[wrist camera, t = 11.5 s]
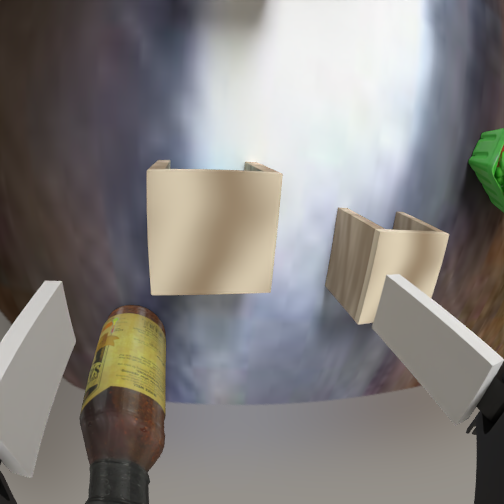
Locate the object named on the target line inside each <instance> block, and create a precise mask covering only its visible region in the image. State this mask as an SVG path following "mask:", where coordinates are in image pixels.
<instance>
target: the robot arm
mask: <svg viewBox="0 0 504 504" xmlns="http://www.w3.org/2000/svg"><path fill="white" fill-rule="evenodd" d="M372 329H373V330H374V331H375V332H376V333H377V334H378V335H379V336H380V338H381V339H382V340H383V341H384V342H385V343H386V344H387V346H388V347H389V348H390V349H391V350H392V351H393V352H394V354H395V355H396V356H397V357H398V358H399V359H400V360H401V362H402V363H403V364H404V365H405V366H406V367H407V369H408V370H409V371H410V372H411V373H412V374H413V376H414V377H415V378H416V379H417V380H418V381H419V383H420V384H421V385H422V386H423V387H424V389H425V390H426V391H427V392H428V393H429V394H430V396H431V397H432V398H433V399H434V401H436V403H437V404H438V405H439V407H441V409H442V410H443V411H444V412H445V414H446V415H447V416H448V418H449V419H450V420H451V421H452V422H453V424H454V425H458V424H460V423H461V422H463V421H465V420H467V419H468V418H469V417H470V415H471V414H472V412H473V411H474V409H475V408H476V407H478V409H479V410H480V412H479V413H478V415H477V416H476V417H475V419H474V420H473V422H472V423H471V424H470V426H469V427H468V428H467V431H466V433H469V432H470V431H471V429H472V428H473V427H474V426H476V428H475V429H474V431H473V432H472V434H474V435H477V470H476V488H475V501H474V504H504V359H503V358H502V357H501V356H500V355H498V354H497V353H496V352H495V351H494V350H493V349H492V348H490V347H489V346H488V345H487V344H486V343H485V342H484V341H482V340H481V339H480V338H479V337H478V336H477V335H475V334H474V333H473V332H472V331H471V330H469V329H468V328H467V327H466V326H465V325H463V324H462V323H461V322H460V321H459V320H457V319H456V318H455V317H454V316H452V315H451V314H450V313H449V312H447V311H446V310H445V309H444V308H443V307H441V306H440V305H439V304H437V303H436V302H435V301H434V300H432V299H431V298H430V297H429V296H427V295H426V294H425V293H423V292H422V291H421V290H420V289H418V288H417V287H416V286H414V285H413V284H412V283H410V282H409V281H408V280H407V279H405V278H404V277H403V276H401V275H400V274H392V275H386V278H385V282H384V286H383V290H382V294H381V297H380V301H379V305H378V308H377V312H376V315H375V319H374V322H373V325H372ZM75 343H76V339H75V335H74V332H73V328H72V324H71V320H70V316H69V312H68V307H67V303H66V298H65V293H64V288H63V283H62V281H45V282H44V283H43V284H42V285H41V287H40V288H39V289H38V291H37V292H36V293H35V294H34V296H33V297H32V298H31V300H30V301H29V302H28V304H27V305H26V306H25V308H24V309H23V310H22V312H21V313H20V315H19V316H18V317H17V319H16V320H15V322H14V323H13V324H12V326H11V327H10V329H9V330H8V332H7V333H6V335H5V336H4V338H3V339H2V341H1V342H0V464H1V461H2V462H3V464H4V465H5V466H6V467H7V468H8V469H9V470H10V471H11V472H13V473H16V474H19V475H23V476H26V477H30V478H32V476H33V472H34V467H35V463H36V459H37V455H38V451H39V448H40V444H41V440H42V437H43V433H44V430H45V427H46V423H47V420H48V417H49V414H50V410H51V407H52V404H53V401H54V398H55V395H56V392H57V390H58V387H59V384H60V381H61V378H62V376H63V373H64V370H65V368H66V365H67V363H68V360H69V357H70V355H71V352H72V350H73V347H74V345H75ZM0 504H17V503H16V501H15V499H14V497H13V495H12V493H11V491H10V489H9V486H8V484H7V482H6V480H5V478H4V476H3V474H2V473H1V471H0Z"/></svg>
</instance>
